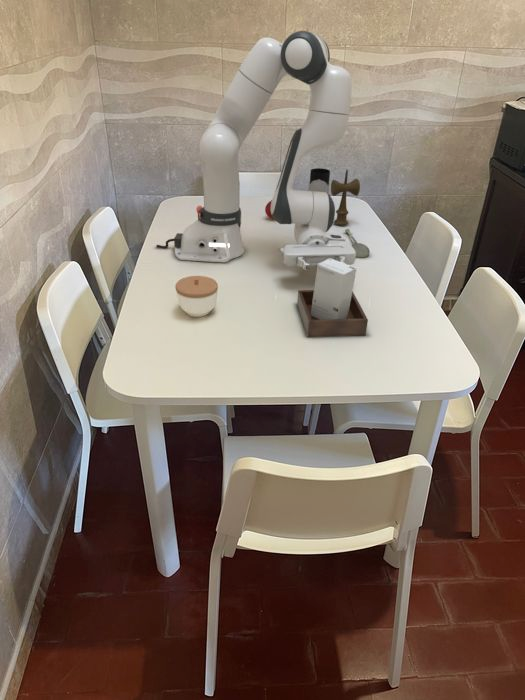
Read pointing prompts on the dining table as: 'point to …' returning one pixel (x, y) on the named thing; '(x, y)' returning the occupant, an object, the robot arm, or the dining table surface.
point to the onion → (268, 210)
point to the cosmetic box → (332, 290)
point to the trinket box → (197, 295)
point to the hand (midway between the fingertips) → (324, 266)
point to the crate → (331, 327)
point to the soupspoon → (359, 247)
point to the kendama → (344, 197)
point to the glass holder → (319, 180)
